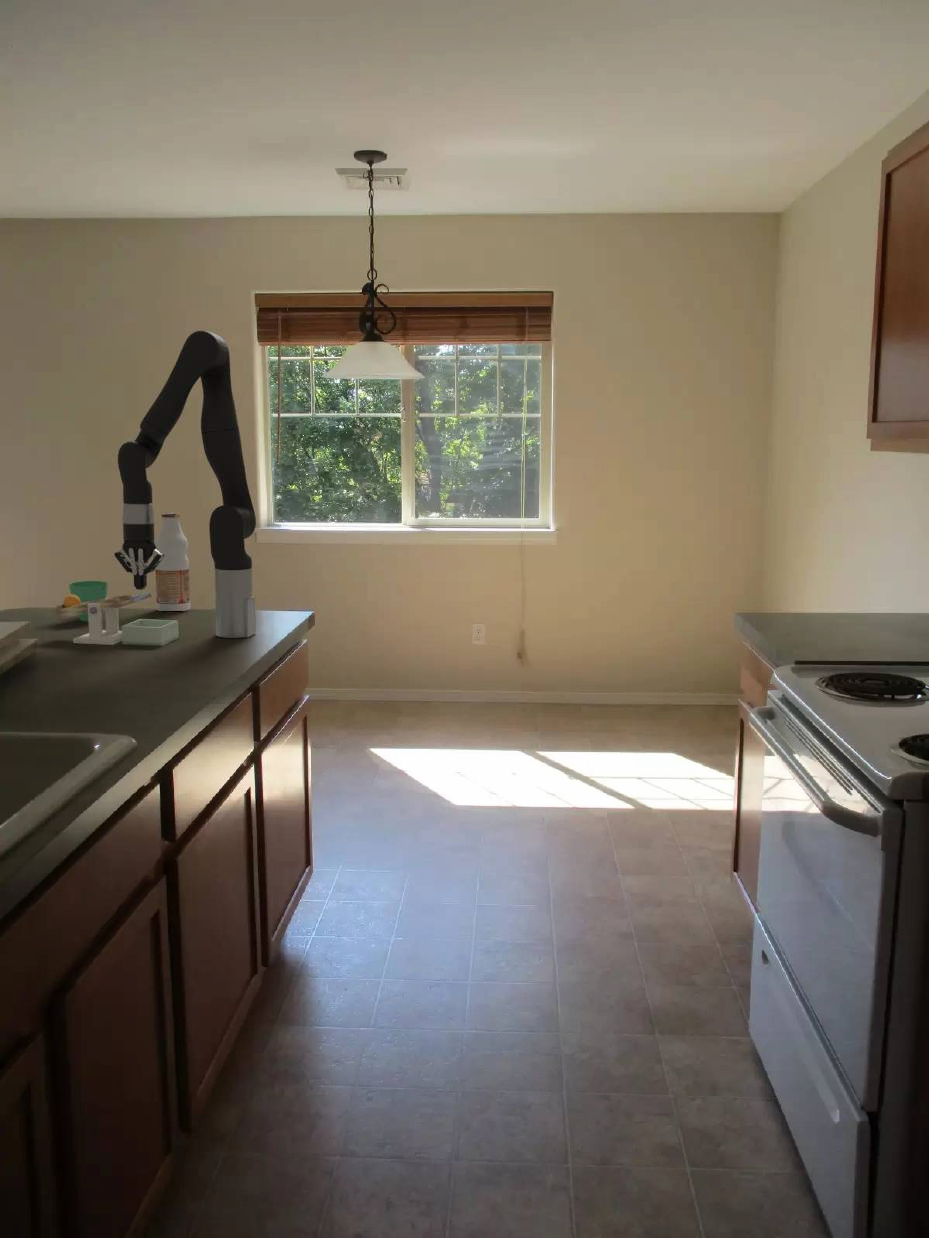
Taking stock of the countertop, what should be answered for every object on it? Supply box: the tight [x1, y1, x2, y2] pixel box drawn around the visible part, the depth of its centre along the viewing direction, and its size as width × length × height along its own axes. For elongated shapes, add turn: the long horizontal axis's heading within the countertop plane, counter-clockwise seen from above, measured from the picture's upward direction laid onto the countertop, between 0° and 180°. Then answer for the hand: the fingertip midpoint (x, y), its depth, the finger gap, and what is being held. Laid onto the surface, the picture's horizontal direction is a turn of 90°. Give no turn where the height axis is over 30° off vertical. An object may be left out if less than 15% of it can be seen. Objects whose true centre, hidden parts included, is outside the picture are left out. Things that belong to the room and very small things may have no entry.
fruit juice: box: [154, 512, 191, 612], centre depth 289 cm, size 9×9×28 cm
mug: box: [68, 580, 109, 622], centre depth 275 cm, size 15×10×10 cm
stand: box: [72, 597, 122, 646], centre depth 248 cm, size 10×12×10 cm
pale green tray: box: [121, 618, 180, 647], centre depth 247 cm, size 10×10×4 cm
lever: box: [55, 592, 152, 619], centre depth 252 cm, size 17×17×3 cm
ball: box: [62, 593, 81, 608], centre depth 248 cm, size 4×4×4 cm
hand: (140, 589), depth 258 cm, fingers closed
